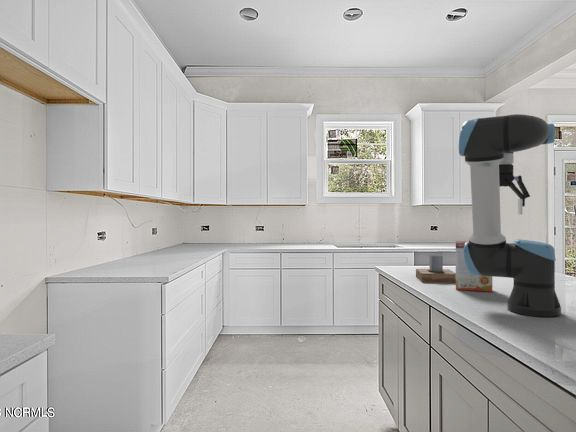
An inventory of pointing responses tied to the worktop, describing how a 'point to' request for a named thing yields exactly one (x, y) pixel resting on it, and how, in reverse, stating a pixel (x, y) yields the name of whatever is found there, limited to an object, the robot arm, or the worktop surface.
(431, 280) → the socket plate
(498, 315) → the worktop surface
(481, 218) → the robot arm
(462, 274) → the cracker box
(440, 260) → the peg
